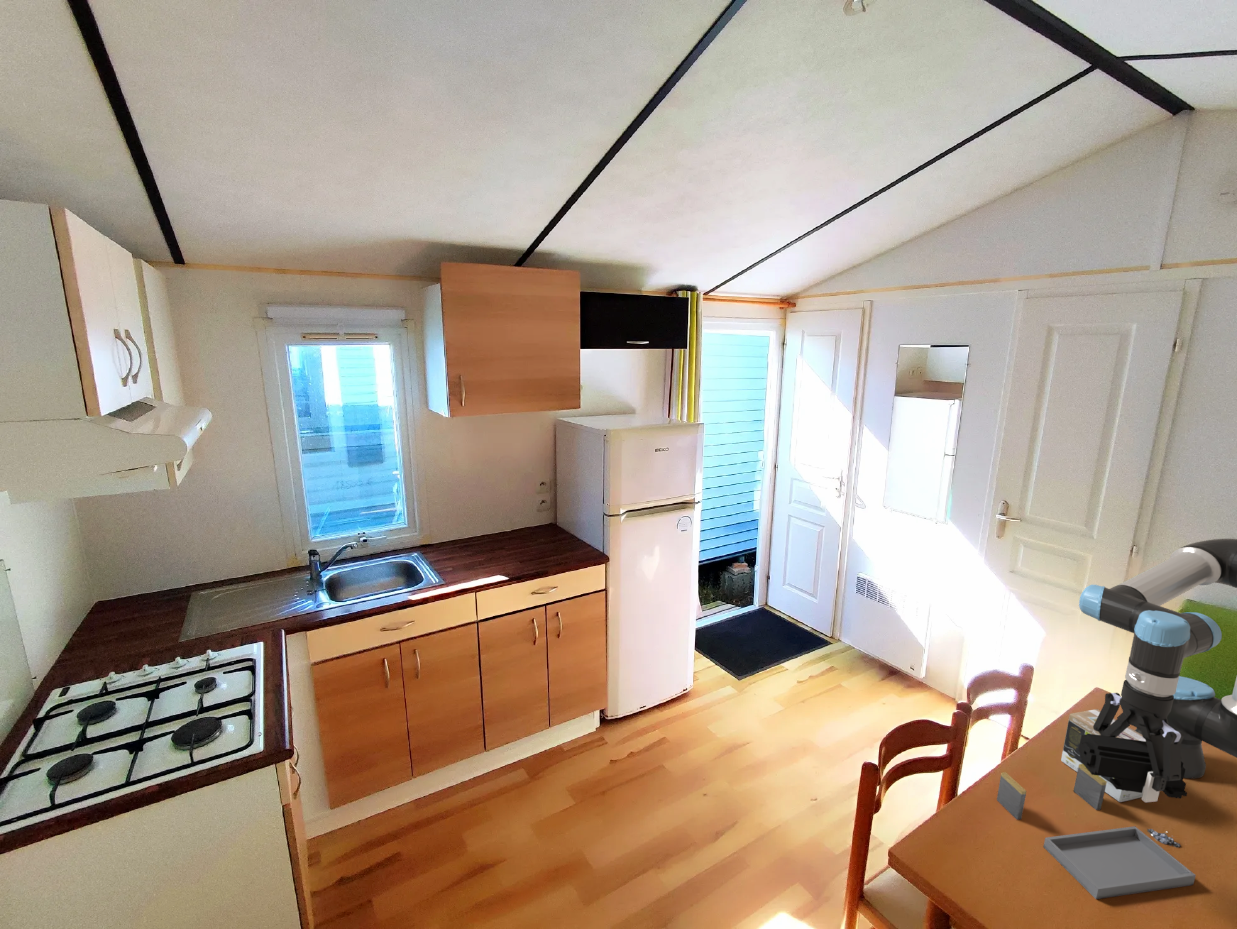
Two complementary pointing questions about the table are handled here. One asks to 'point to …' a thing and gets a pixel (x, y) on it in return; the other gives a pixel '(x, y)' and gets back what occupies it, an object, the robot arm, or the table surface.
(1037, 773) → the table surface
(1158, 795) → the robot arm
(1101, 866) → the tray
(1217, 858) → the table surface
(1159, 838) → the blueberries
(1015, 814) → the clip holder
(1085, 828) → the table surface
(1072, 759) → the tea box
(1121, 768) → the security camera
